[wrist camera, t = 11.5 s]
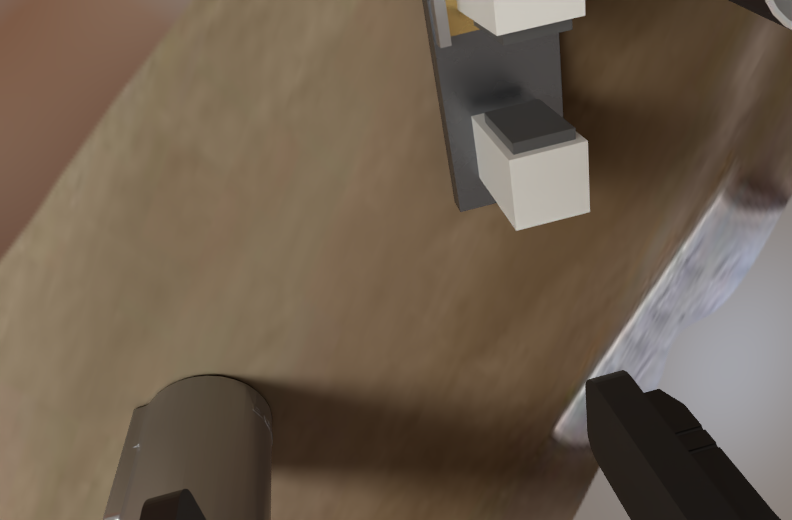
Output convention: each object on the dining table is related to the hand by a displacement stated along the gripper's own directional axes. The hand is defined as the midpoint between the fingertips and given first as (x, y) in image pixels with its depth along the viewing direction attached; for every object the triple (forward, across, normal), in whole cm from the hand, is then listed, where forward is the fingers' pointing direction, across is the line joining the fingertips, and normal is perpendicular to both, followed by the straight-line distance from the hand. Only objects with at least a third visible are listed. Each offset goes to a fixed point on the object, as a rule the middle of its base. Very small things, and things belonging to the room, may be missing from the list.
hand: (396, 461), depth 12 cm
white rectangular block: (+25, -11, +4) cm, 28 cm away
